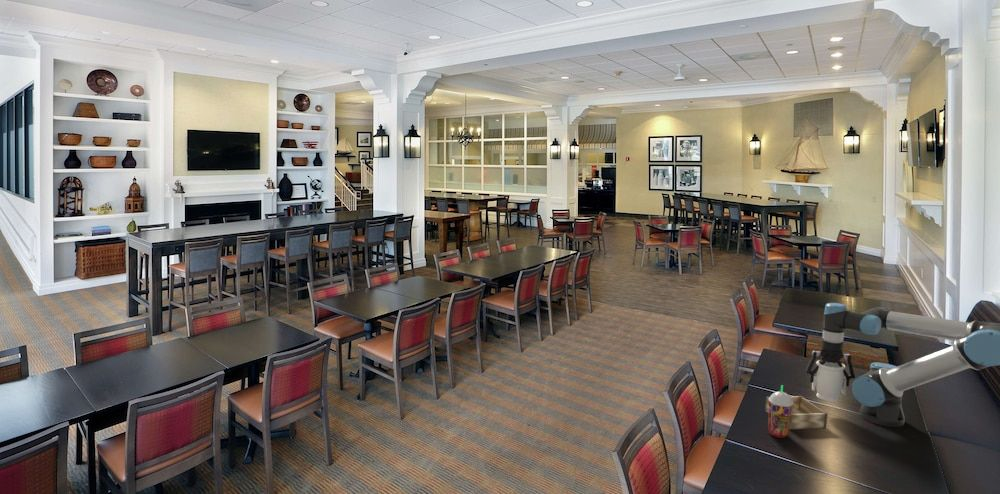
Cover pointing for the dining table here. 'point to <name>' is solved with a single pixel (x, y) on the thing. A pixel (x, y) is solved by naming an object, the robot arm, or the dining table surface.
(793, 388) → the dining table surface
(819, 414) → the crate
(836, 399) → the jar
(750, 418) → the dining table surface
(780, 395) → the smoothie
